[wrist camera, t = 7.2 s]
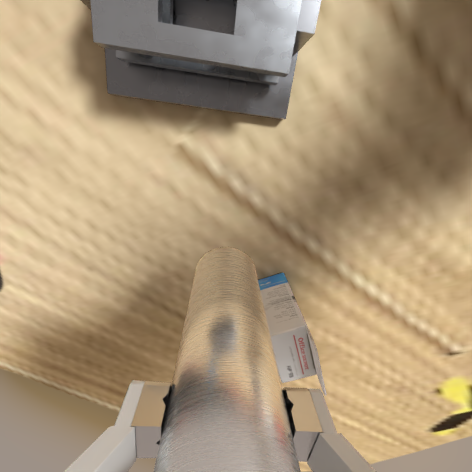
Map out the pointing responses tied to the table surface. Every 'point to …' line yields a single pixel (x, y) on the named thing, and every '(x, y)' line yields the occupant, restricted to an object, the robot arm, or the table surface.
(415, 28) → the table surface
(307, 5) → the collar stand
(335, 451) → the robot arm
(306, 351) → the ink box
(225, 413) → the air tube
